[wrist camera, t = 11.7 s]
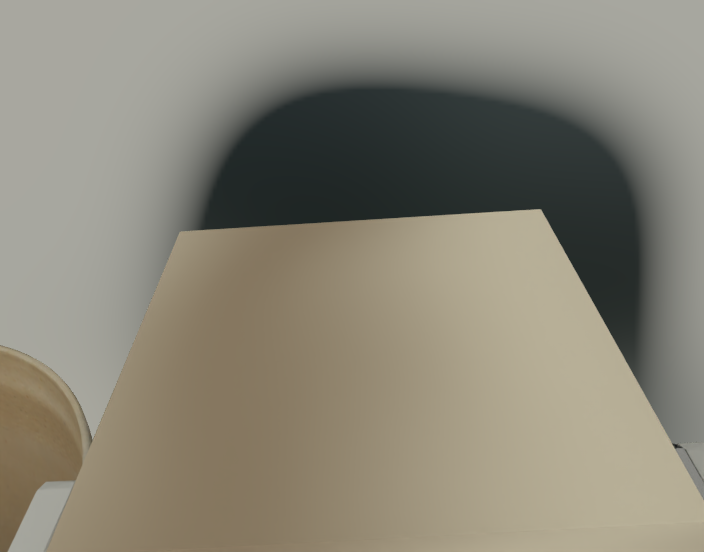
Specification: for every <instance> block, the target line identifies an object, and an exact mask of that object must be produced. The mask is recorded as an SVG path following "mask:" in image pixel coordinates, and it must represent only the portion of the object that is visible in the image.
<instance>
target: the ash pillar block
mask: <svg viewBox="0 0 704 552" xmlns="http://www.w3.org/2000/svg"><path fill="white" fill-rule="evenodd" d="M46 552H704V500H703V498H702V496H701V495H700V493H699V491H698V489H697V487H696V486H695V484H694V482H693V480H692V478H691V477H690V475H689V473H688V471H687V470H686V468H685V466H684V464H683V462H682V461H681V459H680V457H679V455H678V453H677V452H676V450H675V448H674V446H673V445H672V443H671V441H670V439H669V437H668V436H667V434H666V432H665V430H664V428H663V427H662V425H661V423H660V421H659V420H658V418H657V416H656V414H655V412H654V411H653V410H652V407H651V405H650V404H649V402H648V400H647V398H646V396H645V395H644V393H643V391H642V389H641V387H640V386H639V384H638V383H637V380H636V378H635V377H634V375H633V373H632V371H631V370H630V368H629V366H628V364H627V362H626V361H625V359H624V357H623V355H622V353H621V352H620V350H619V348H618V346H617V345H616V343H615V341H614V339H613V337H612V336H611V334H610V332H609V330H608V328H607V327H606V325H605V323H604V322H603V320H602V318H601V316H600V314H599V312H598V311H597V309H596V307H595V305H594V304H593V302H592V300H591V298H590V296H589V295H588V293H587V291H586V289H585V288H584V286H583V284H582V282H581V281H580V279H579V277H578V275H577V273H576V271H575V270H574V268H573V266H572V264H571V262H570V261H569V259H568V257H567V256H566V254H565V252H564V250H563V248H562V246H561V245H560V243H559V241H558V239H557V238H556V236H555V234H554V232H553V231H552V229H551V227H550V225H549V223H548V221H547V220H546V218H545V216H544V214H543V213H542V211H541V209H537V210H521V211H505V212H491V213H490V212H489V213H472V214H457V215H441V216H425V217H408V218H392V219H377V220H361V221H346V222H345V221H344V222H328V223H312V224H297V225H282V226H281V225H280V226H263V227H248V228H233V229H232V228H231V229H216V230H199V231H183V232H180V233H179V236H178V238H177V240H176V243H175V245H174V248H173V250H172V252H171V254H170V257H169V259H168V262H167V264H166V266H165V269H164V271H163V274H162V276H161V279H160V281H159V283H158V285H157V288H156V290H155V293H154V295H153V298H152V300H151V302H150V305H149V307H148V309H147V312H146V314H145V317H144V319H143V321H142V324H141V326H140V329H139V331H138V333H137V336H136V338H135V341H134V343H133V346H132V348H131V350H130V352H129V355H128V357H127V360H126V362H125V364H124V367H123V369H122V371H121V374H120V376H119V379H118V381H117V384H116V386H115V388H114V391H113V393H112V395H111V398H110V400H109V403H108V405H107V408H106V410H105V412H104V415H103V417H102V419H101V422H100V424H99V426H98V429H97V431H96V434H95V436H94V439H93V441H92V443H91V446H90V448H89V450H88V453H87V455H86V457H85V460H84V462H83V465H82V467H81V469H80V472H79V474H78V477H77V479H76V481H75V484H74V486H73V489H72V491H71V493H70V496H69V498H68V501H67V503H66V505H65V508H64V510H63V512H62V515H61V517H60V520H59V522H58V524H57V527H56V529H55V532H54V534H53V536H52V539H51V541H50V544H49V546H48V548H47V551H46Z"/></svg>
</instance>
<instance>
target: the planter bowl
mask: <svg viewBox="0 0 704 552" xmlns="http://www.w3.org/2000/svg"><path fill="white" fill-rule="evenodd" d="M91 443H92V436H91V433H90V430H89V426H88V424H87V421H86V418H85V416H84V413H83V411H82V408H81V406H80V404H79V402H78V401H77V398H76V397H75V395H74V394H73V392H72V391H71V390H70V388H69V387H68V385H67V384H66V383H65V382H64V381H63V380H62V379H61V378H60V377H59V376H58V375H57V374H56V373H55V372H54V371H53V370H51V369H50V368H49V367H48V366H46V365H44V364H43V363H41V362H40V361H38V360H36V359H34V358H32V357H31V356H29V355H27V354H24V353H22V352H20V351H17V350H14V349H11V348H8V347H4V346H1V345H0V552H8V550H9V548H10V545H11V543H12V541H13V539H14V537H15V535H16V533H17V531H18V529H19V527H20V524H21V522H22V520H23V518H24V516H25V514H26V512H27V510H28V508H29V506H30V503H31V501H32V499H33V497H34V495H35V493H36V491H37V490H38V489H39V488H40V487H41V486H42V485H43V484H44V483H45V482H51V481H72V480H76V479H77V477H78V474H79V472H80V469H81V467H82V465H83V462H84V460H85V457H86V455H87V453H88V450H89V448H90V446H91Z"/></svg>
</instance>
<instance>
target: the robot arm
mask: <svg viewBox="0 0 704 552" xmlns="http://www.w3.org/2000/svg"><path fill="white" fill-rule="evenodd" d="M672 445H673V446H674V448H675V450H676V452H677V453H678V455H679V457H680V459H681V461H682V462H683V464H684V466H685V468H686V470H687V471H688V473H689V475H690V477H691V478H692V480H693V482H694V484H695V486H696V487H697V489H698V491H699V493H700V495H701V496H702V498H703V500H704V442H696V443H680V444H673V443H672ZM75 481H76V480H72V481H51V482H45V483H44V484H43V485H42V486H41V487H40V488H39V489H38V490H37V491H36V493H35V495H34V497H33V499H32V501H31V503H30V506H29V508H28V510H27V512H26V514H25V516H24V518H23V520H22V522H21V524H20V527H19V529H18V531H17V533H16V535H15V537H14V539H13V541H12V543H11V545H10V548H9V550H8V552H46V551H47V548H48V546H49V544H50V541H51V539H52V536H53V534H54V532H55V529H56V527H57V524H58V522H59V520H60V517H61V515H62V512H63V510H64V508H65V505H66V503H67V501H68V498H69V496H70V493H71V491H72V489H73V486H74V484H75Z"/></svg>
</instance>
